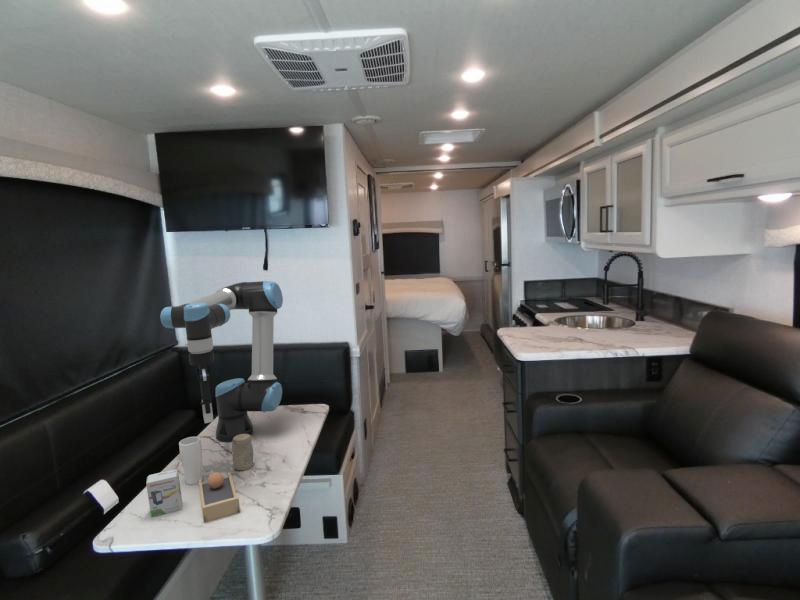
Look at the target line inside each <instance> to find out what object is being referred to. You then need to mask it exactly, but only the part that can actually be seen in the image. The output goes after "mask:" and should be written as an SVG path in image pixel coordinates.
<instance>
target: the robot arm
mask: <svg viewBox="0 0 800 600" xmlns="http://www.w3.org/2000/svg"><path fill="white" fill-rule="evenodd" d="M283 297H284V296H283V292H282V290H281V287H280V285H279V284H278V283H277V282H275V281H271V280H270V281H268V280H262V281H243V282H238V283H233V284H231V285H227V286H224V287H222V288H219V289H218V290H216V291H215V293H213V294H210V295H207V296H203V297H201V298H199V299H196V300H193V301H189V302H187V303H184V304H180V305H176V306H173V305H171V306H166V307H164V308H163V309H161V312H160V316H159V317H160V322H161V325H162V326H163V327H165V328H166V329H185V333H186V334H185V335H186V340H187V342H185V344H184V346H187V351H188V352H189V353H188V362H189V365H190V366H197V368H195V370H196V375H197V380H198V383H199V387H200V396H201V397H200V398H201V402H200V404H199V405H200V406H201V407H202V408H201V409H202V416H203V421H204V424H209V423H212V422H213V423H214V422H215V421H214V414H213V406H212V405H213V403H212V402H213V401H212V398H213V395H212V394H211V385H210V384H211V383H210V382H211V376H210V375H211V369H210V366H208V365H209V364H212V363H213V362H214V361H215V354H214V353H215V352H214V350H213V349H214V343H213V335H212V329H215V328H218V327H222V326H223V325H225V324H227V323H228V322H229V320H230V318H231V311H232V310H248V314H249V315H250V316H251V319H252V322H251V323H252V325H251V326H252V329H251V335H252V336H251V343H252V344H251V350H252V351H251V375H250V376H249V377H248V379H247V382H245V379H244V378H242V377H239V378H238V377H237V378H233V379H228V380H225V381H222V382H221V383H219V384H218V385H216V386H215V400H216V408H217V418H218V420H217V425H216V427H215V433H214V434H215V439H216V441H219V442H227V443H230V442H231V443H232V440H233V438H234V437H235V436H237V435H239V434H249V435H250V436H252V435H253V433H254V431H255V430H254V425H253V423H252V421H251V419H250V417H249V414H248V412H263V413H265V412H274V411H276V409H277V408H278V407H279V405H280V403H281V400H282V396H283V387H282V384H281V383H280V382H278V377H276V375H275V374H274V329H275V328H274V321H275V318H274V317H275V316H276V315H277V314H278V310H279V309H281V308H282V306H283V304H284V299H283Z"/></svg>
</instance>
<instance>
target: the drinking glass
mask: <svg viewBox="0 0 800 600" xmlns="http://www.w3.org/2000/svg"><path fill="white" fill-rule="evenodd" d="M178 446H179V447H178V449H179V456H180V461H181V465H182V470H183V473H184V479H185V484H186V485H187V486H188V485H189V486H192V485H193V486H194V485H197V484H199V480H200V479H201V481H203V479H204V478H203V477H204V476H203V450H202V441H201V437H199V436H188V437H186V438H185V437H184V438H183V439H181V440H180V441H179V442H178Z"/></svg>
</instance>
